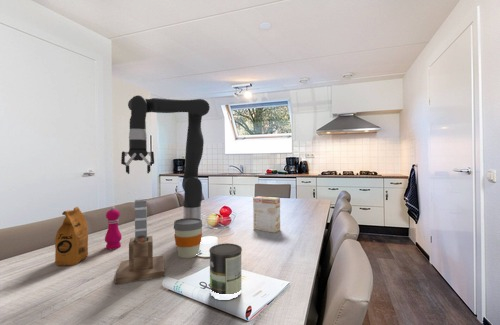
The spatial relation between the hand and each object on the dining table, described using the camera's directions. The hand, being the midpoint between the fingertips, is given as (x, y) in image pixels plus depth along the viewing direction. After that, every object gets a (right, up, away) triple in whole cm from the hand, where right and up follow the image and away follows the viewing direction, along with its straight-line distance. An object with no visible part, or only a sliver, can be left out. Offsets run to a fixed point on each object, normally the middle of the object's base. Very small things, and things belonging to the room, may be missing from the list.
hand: (138, 173), depth 121 cm
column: (+11, -27, -23) cm, 38 cm away
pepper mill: (-14, -36, +4) cm, 39 cm away
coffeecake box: (+63, -35, +33) cm, 79 cm away
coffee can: (+45, -37, -39) cm, 70 cm away
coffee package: (-23, -37, -12) cm, 45 cm away
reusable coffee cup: (+25, -36, -6) cm, 45 cm away
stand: (+11, -36, -23) cm, 45 cm away
